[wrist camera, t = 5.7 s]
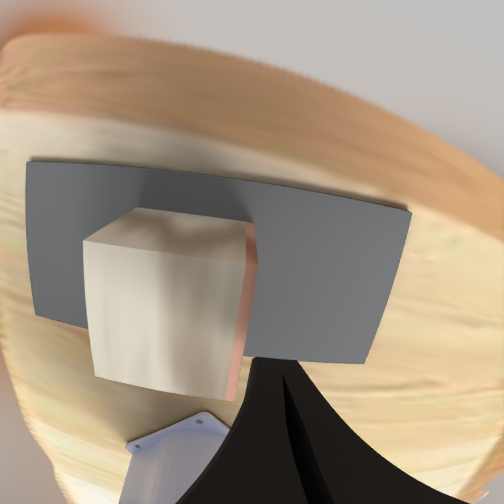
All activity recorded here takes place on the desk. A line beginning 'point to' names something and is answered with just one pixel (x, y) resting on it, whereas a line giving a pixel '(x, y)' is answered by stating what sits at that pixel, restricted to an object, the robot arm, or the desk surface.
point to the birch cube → (170, 300)
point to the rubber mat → (267, 243)
